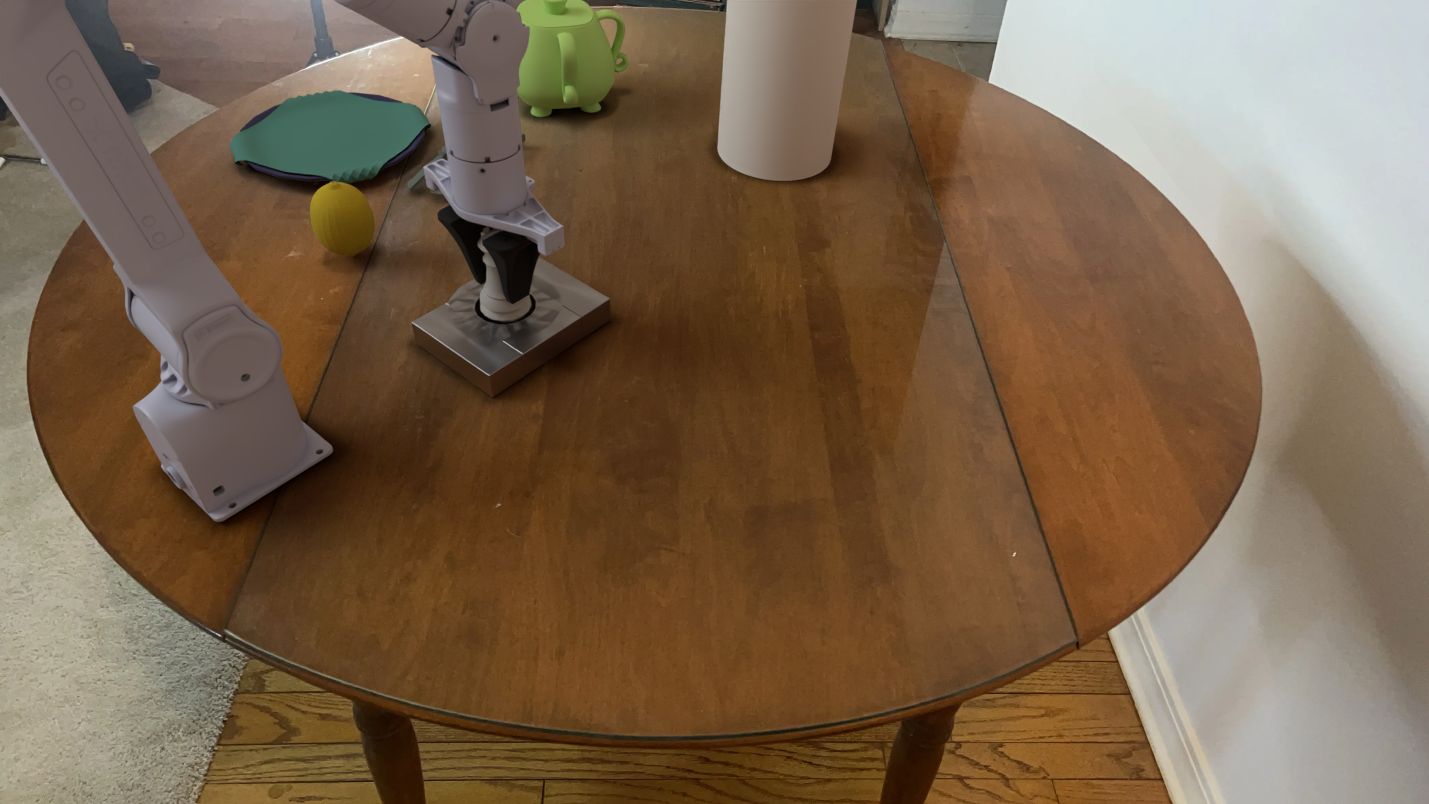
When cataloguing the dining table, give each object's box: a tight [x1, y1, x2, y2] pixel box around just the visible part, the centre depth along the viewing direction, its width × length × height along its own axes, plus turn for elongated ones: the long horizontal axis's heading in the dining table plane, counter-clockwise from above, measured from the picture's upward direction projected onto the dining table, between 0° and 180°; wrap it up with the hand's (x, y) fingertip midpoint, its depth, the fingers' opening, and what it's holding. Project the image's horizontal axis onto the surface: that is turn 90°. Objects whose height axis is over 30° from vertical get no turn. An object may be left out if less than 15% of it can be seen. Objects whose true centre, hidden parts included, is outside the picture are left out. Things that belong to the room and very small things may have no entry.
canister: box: [716, 0, 858, 182], centre depth 100 cm, size 14×14×20 cm
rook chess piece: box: [478, 227, 531, 324], centre depth 77 cm, size 4×4×8 cm
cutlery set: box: [229, 89, 526, 195], centre depth 100 cm, size 20×30×2 cm, turn 75°
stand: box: [411, 256, 612, 398], centre depth 80 cm, size 14×11×2 cm
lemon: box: [309, 180, 376, 258], centre depth 85 cm, size 6×6×8 cm
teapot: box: [516, 0, 629, 118], centre depth 109 cm, size 16×14×13 cm
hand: (503, 288), depth 78 cm, fingers closed on rook chess piece, 3 cm apart
